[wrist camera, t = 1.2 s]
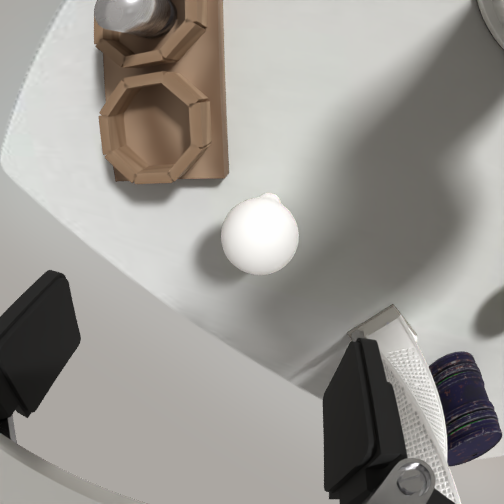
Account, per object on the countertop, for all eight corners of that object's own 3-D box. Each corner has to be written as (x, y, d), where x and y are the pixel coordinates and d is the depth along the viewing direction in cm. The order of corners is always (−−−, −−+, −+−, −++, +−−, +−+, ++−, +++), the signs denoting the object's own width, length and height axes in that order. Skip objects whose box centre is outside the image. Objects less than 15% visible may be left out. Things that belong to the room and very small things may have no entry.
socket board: (222, -34, 21) (208, -52, 16) (229, 172, 31) (216, 187, 27) (113, -10, 22) (87, -19, 18) (124, 176, 33) (100, 190, 29)
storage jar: (411, 373, 42) (429, 457, 29) (465, 341, 37) (498, 422, 24) (432, 398, 44) (448, 471, 31) (480, 370, 40) (506, 442, 27)
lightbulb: (266, 160, 30) (249, 196, 21) (312, 201, 31) (316, 255, 22) (227, 202, 33) (196, 255, 23) (271, 240, 34) (258, 304, 25)
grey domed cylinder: (177, -7, 21) (144, -27, 15) (177, 34, 23) (143, 22, 17) (134, 3, 22) (95, -11, 16) (135, 42, 24) (94, 36, 18)
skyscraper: (402, 297, 35) (459, 529, 11) (428, 332, 37) (477, 529, 13) (347, 332, 39) (357, 555, 15) (378, 362, 41) (396, 554, 17)
